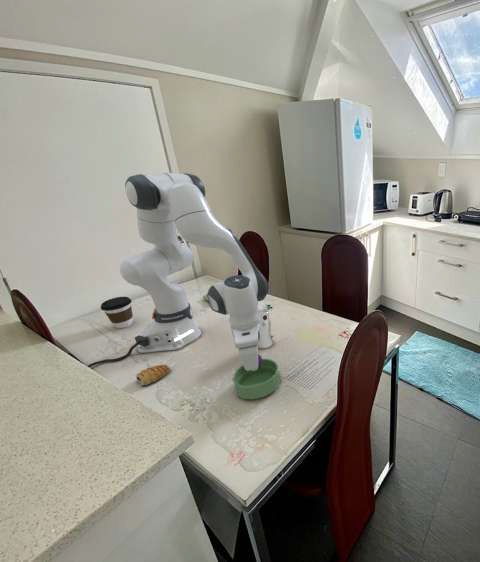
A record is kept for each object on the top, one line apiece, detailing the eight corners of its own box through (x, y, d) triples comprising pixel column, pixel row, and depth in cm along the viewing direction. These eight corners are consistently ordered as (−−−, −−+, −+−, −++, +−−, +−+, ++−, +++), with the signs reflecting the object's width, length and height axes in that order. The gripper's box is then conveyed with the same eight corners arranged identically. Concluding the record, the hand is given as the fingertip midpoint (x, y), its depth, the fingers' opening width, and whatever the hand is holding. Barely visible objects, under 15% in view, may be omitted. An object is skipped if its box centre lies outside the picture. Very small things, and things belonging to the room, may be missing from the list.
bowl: (235, 405, 97) (231, 392, 94) (236, 376, 109) (233, 364, 107) (282, 394, 101) (279, 380, 99) (278, 367, 113) (276, 354, 111)
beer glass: (268, 350, 123) (263, 317, 117) (252, 348, 124) (246, 315, 118) (277, 340, 129) (272, 308, 123) (262, 338, 130) (256, 306, 124)
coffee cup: (110, 334, 135) (100, 310, 130) (108, 324, 142) (98, 301, 137) (140, 325, 141) (132, 301, 136) (137, 316, 149) (129, 293, 144)
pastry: (164, 366, 114) (161, 357, 113) (173, 373, 111) (170, 364, 109) (135, 380, 107) (132, 372, 106) (144, 388, 104) (140, 379, 102)
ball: (247, 374, 99) (244, 361, 97) (247, 365, 103) (244, 352, 101) (263, 370, 101) (261, 358, 99) (263, 361, 105) (260, 349, 103)
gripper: (237, 313, 104) (244, 347, 109) (234, 347, 86) (243, 386, 92) (257, 310, 106) (263, 344, 111) (258, 342, 88) (266, 381, 94)
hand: (254, 363), depth 101 cm, fingers closed on ball, 5 cm apart
